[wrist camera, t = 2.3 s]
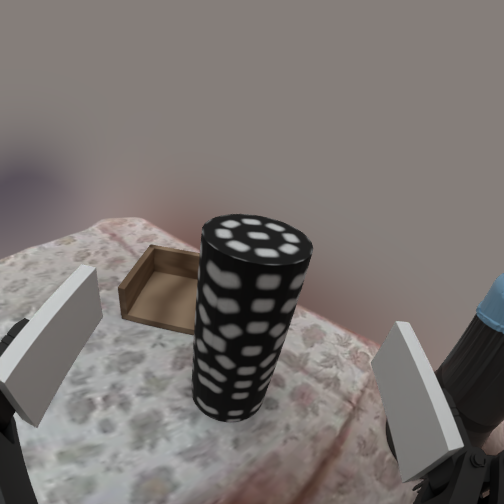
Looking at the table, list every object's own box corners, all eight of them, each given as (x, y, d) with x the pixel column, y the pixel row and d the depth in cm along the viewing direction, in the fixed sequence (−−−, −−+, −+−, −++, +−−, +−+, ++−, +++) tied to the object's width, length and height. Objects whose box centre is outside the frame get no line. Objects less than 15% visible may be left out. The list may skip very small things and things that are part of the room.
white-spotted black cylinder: (254, 364, 35) (292, 218, 26) (270, 418, 28) (331, 267, 19) (189, 365, 33) (199, 210, 24) (194, 423, 26) (205, 262, 17)
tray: (222, 285, 50) (226, 257, 47) (209, 338, 38) (212, 307, 36) (150, 271, 49) (150, 244, 47) (121, 318, 38) (117, 287, 35)
